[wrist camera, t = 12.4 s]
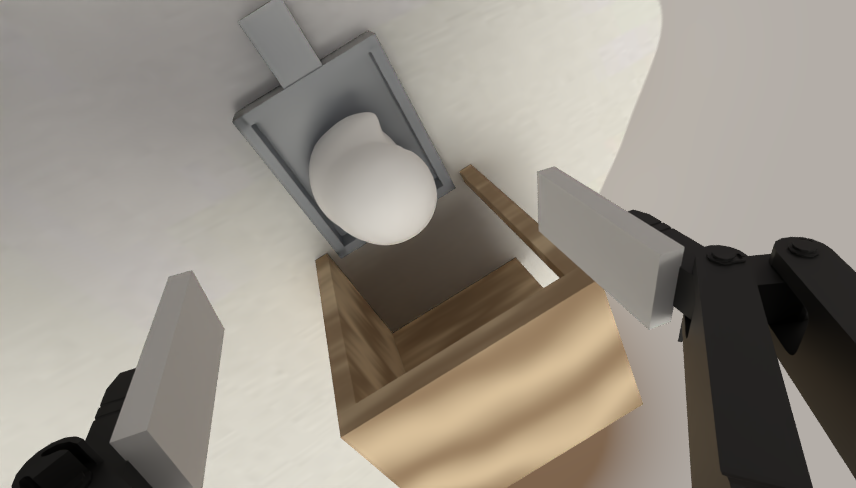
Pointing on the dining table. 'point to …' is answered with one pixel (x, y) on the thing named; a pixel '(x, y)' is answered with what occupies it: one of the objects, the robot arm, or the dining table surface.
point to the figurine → (371, 182)
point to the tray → (324, 108)
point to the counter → (478, 369)
